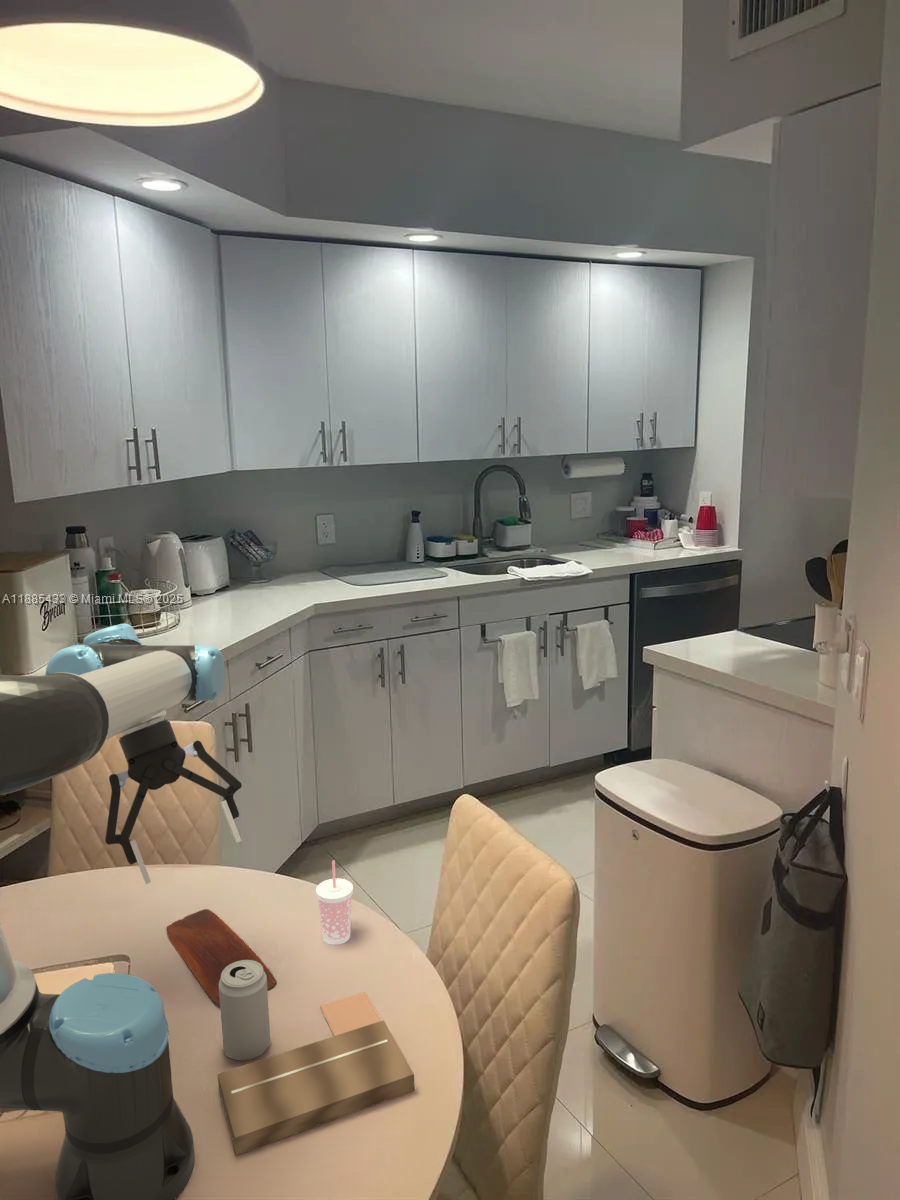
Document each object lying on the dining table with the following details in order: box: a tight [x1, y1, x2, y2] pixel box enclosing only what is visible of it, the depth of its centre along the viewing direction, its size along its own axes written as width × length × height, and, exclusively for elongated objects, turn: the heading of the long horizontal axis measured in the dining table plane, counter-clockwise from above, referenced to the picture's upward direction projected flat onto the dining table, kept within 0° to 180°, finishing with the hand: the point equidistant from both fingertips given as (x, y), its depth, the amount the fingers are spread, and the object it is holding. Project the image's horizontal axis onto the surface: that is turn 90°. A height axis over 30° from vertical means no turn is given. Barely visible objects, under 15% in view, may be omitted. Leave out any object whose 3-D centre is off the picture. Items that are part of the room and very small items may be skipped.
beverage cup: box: [315, 859, 354, 946], centre depth 143 cm, size 6×6×14 cm
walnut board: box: [217, 1019, 415, 1156], centre depth 113 cm, size 23×11×3 cm, turn 115°
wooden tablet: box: [166, 908, 277, 1008], centre depth 141 cm, size 27×10×2 cm, turn 37°
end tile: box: [319, 991, 382, 1037], centre depth 127 cm, size 7×7×1 cm
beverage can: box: [219, 960, 271, 1062], centre depth 119 cm, size 6×6×12 cm
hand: (193, 861), depth 128 cm, fingers open, 13 cm apart
